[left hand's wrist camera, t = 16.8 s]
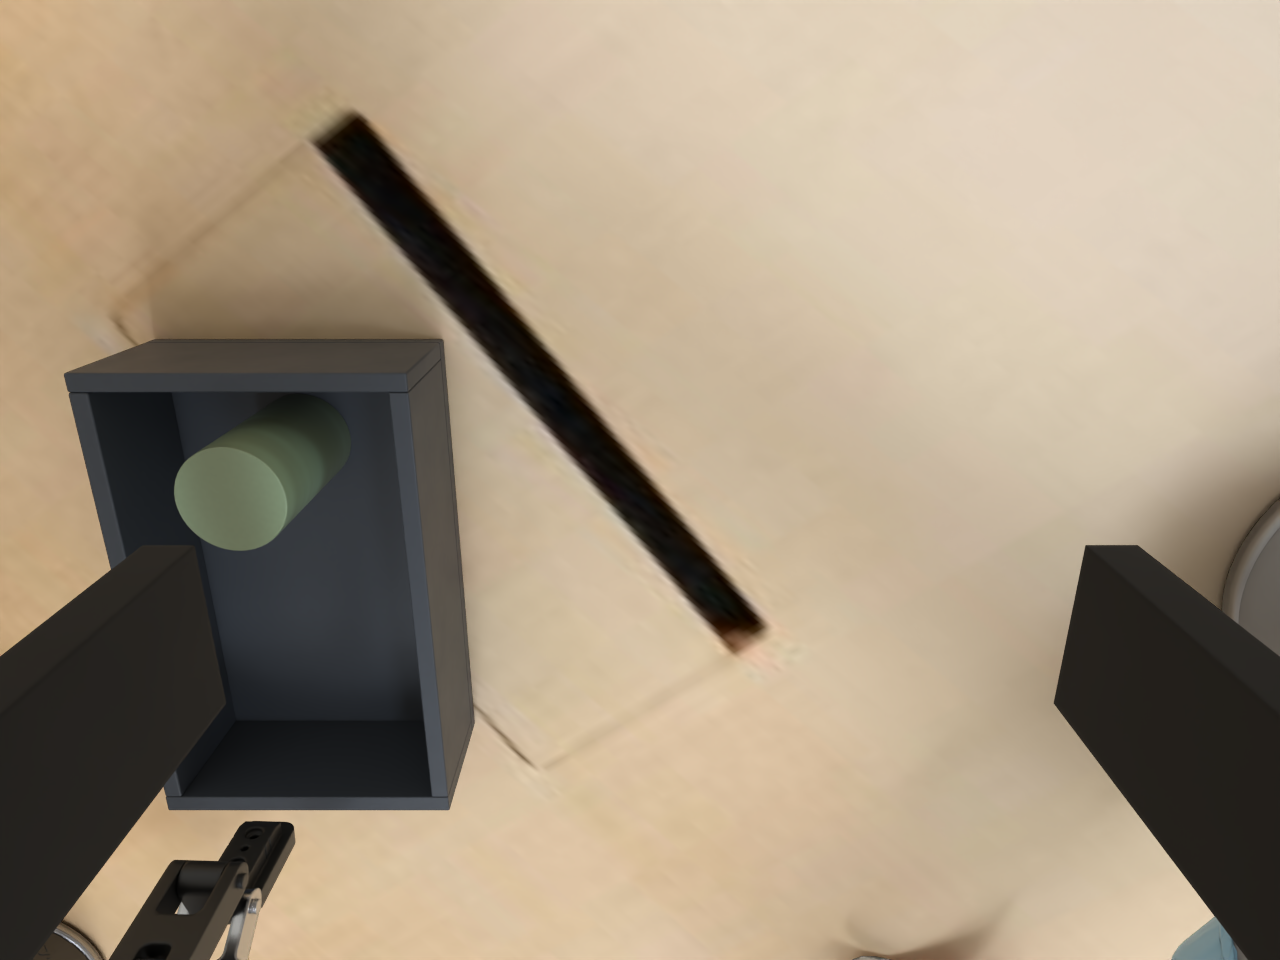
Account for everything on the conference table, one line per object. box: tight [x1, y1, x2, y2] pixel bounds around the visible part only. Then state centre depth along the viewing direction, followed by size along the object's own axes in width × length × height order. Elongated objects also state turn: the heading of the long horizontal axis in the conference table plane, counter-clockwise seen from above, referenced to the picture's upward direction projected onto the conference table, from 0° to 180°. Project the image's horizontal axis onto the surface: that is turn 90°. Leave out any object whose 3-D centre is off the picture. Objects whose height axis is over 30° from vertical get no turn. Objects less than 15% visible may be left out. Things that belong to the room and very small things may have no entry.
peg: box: [174, 394, 351, 551], centre depth 37 cm, size 4×4×8 cm
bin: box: [64, 339, 475, 810], centre depth 41 cm, size 14×22×7 cm, turn 0°
